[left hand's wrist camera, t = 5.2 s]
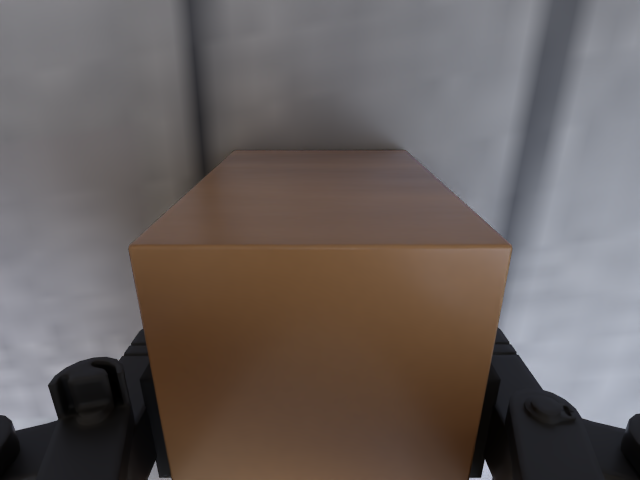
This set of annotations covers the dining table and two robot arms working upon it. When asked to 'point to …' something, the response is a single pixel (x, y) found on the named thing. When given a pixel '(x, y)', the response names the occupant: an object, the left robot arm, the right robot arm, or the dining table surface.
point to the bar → (320, 319)
